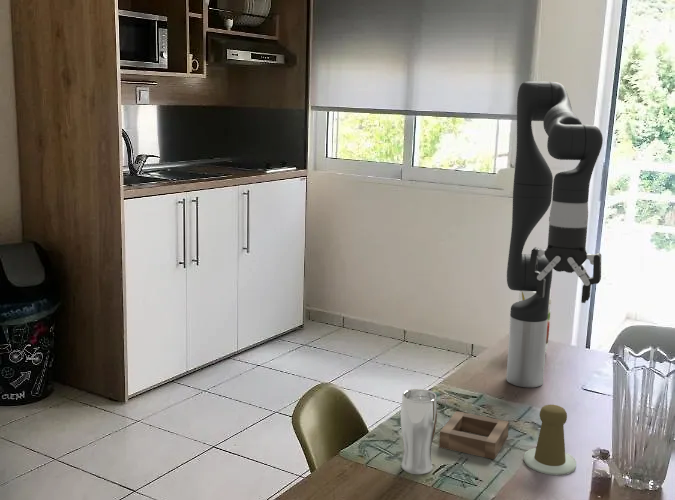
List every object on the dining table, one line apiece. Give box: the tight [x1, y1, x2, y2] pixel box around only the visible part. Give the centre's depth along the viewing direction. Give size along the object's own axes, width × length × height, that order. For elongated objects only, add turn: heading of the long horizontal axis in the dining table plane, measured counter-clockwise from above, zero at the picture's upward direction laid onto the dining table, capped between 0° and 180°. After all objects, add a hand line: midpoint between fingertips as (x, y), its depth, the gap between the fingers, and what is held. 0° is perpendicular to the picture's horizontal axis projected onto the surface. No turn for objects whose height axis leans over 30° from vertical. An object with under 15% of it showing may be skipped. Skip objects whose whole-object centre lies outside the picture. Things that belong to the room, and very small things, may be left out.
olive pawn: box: [534, 404, 568, 466], centre depth 147 cm, size 6×6×11 cm
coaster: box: [523, 447, 577, 476], centre depth 148 cm, size 10×10×1 cm
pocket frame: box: [438, 410, 510, 460], centre depth 156 cm, size 12×12×4 cm
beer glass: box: [400, 388, 438, 475], centre depth 144 cm, size 7×7×15 cm
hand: (562, 299), depth 155 cm, fingers open, 8 cm apart
